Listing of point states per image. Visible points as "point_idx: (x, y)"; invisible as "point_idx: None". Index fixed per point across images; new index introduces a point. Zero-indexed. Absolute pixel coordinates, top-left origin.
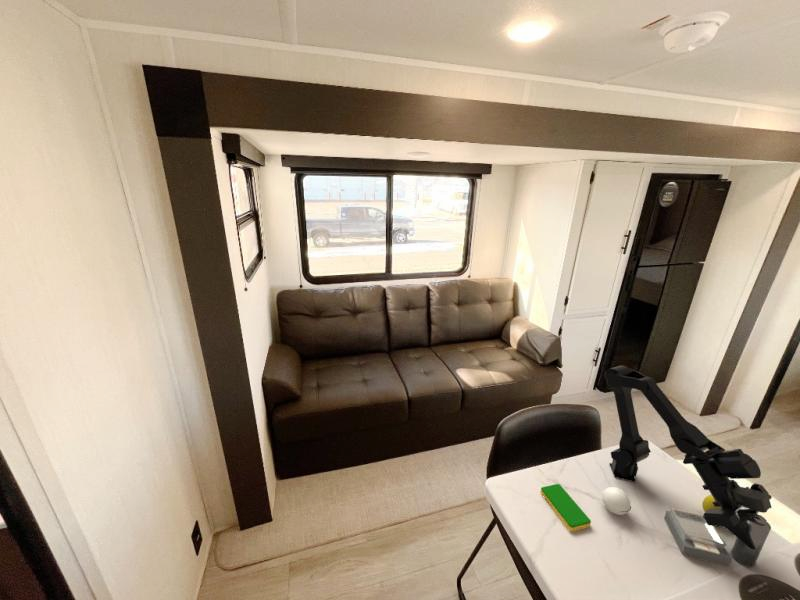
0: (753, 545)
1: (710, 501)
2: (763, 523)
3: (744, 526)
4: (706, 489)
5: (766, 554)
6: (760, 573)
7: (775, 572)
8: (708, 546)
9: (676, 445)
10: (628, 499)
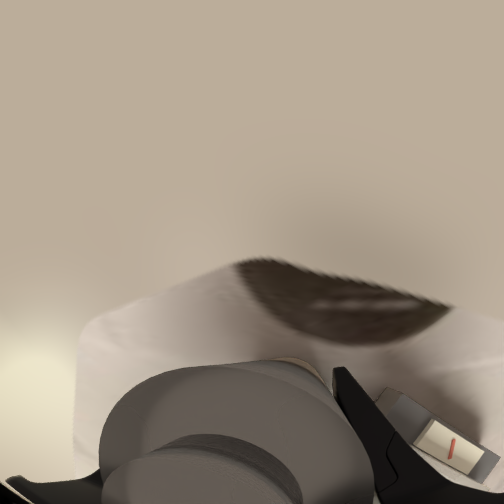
0: (349, 380)
1: None
2: (247, 470)
3: (387, 497)
4: None
5: (164, 361)
6: (289, 332)
7: (224, 313)
8: (441, 452)
9: None
10: None
